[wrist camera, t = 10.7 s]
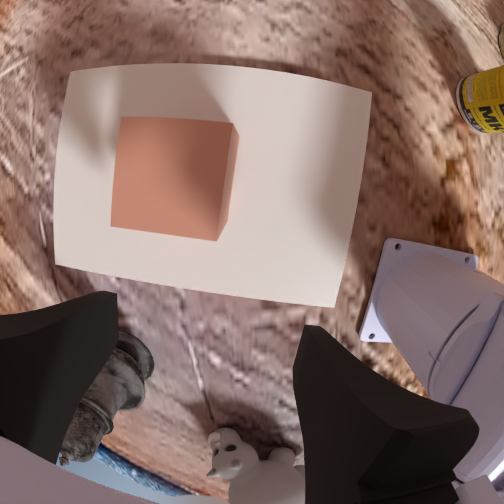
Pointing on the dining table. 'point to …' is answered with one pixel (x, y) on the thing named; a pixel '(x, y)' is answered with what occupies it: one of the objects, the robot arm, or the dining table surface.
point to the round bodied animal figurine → (256, 471)
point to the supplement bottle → (482, 100)
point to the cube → (174, 176)
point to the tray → (244, 182)
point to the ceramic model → (501, 40)
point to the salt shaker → (108, 398)
